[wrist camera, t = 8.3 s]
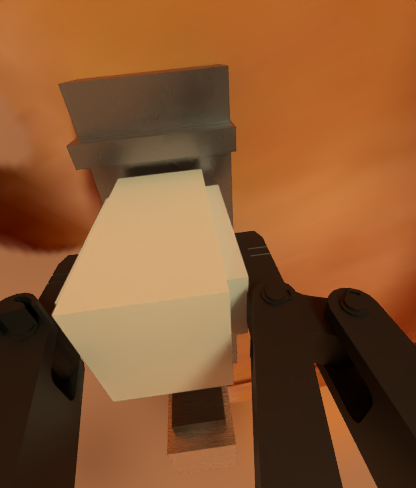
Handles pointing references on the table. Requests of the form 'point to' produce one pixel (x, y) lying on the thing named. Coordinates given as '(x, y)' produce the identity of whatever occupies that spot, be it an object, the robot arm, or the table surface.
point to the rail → (157, 162)
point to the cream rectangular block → (151, 291)
